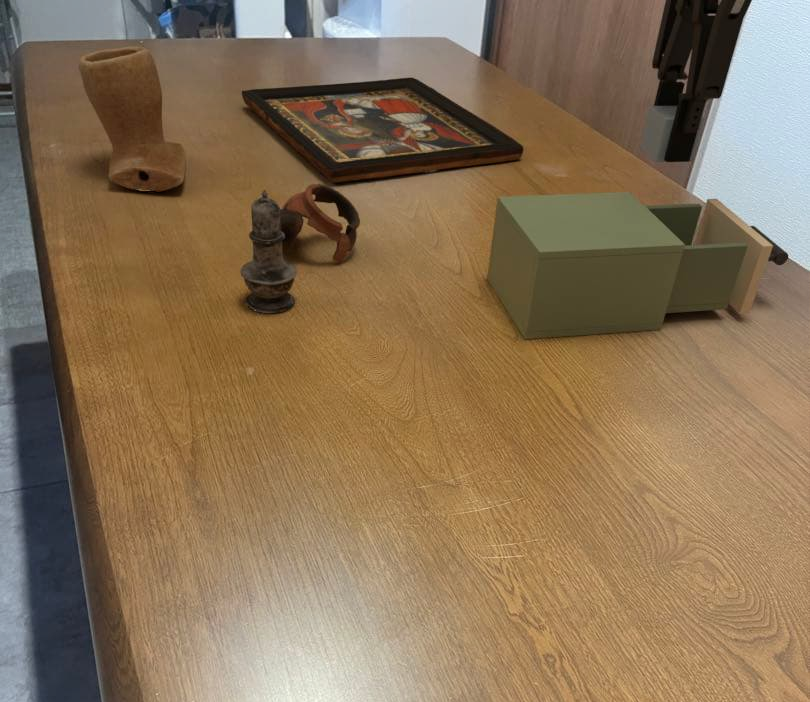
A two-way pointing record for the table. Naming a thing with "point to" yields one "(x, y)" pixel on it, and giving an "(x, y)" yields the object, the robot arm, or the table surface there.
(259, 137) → the table surface
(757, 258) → the drawer
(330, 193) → the broken clay pot
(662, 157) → the block
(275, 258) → the salt shaker
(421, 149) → the framed icon painting
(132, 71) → the clay pipe bowl
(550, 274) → the cabinet
